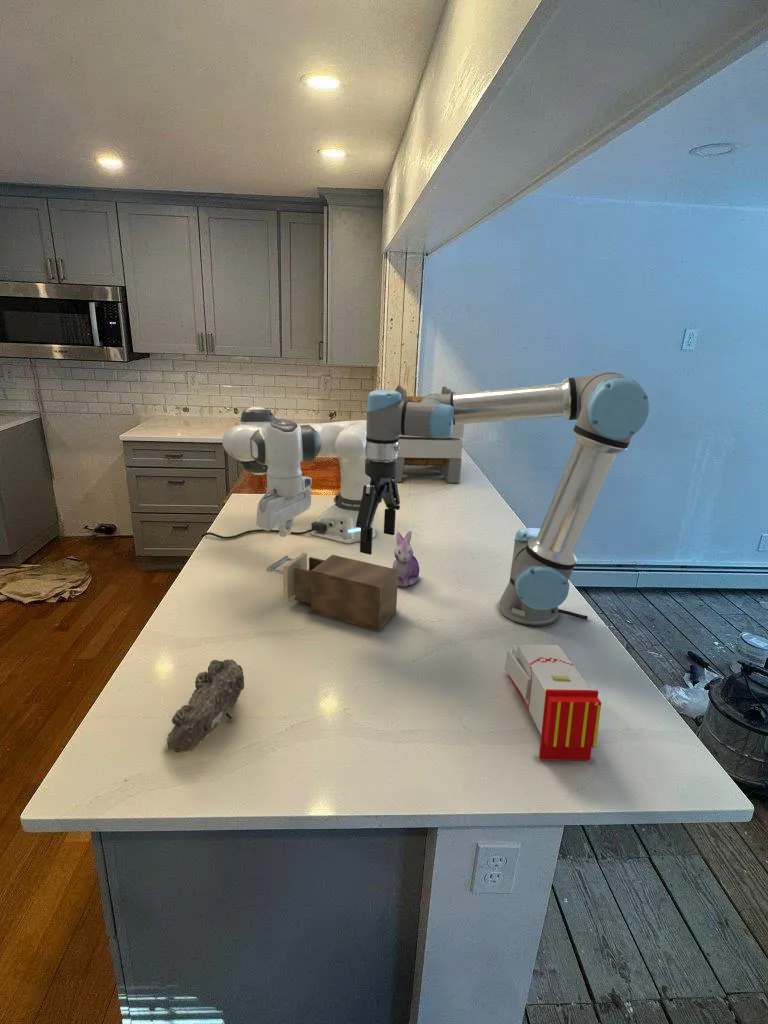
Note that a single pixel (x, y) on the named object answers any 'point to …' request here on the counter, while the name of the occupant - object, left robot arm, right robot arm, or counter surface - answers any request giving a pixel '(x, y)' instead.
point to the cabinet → (354, 591)
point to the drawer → (296, 576)
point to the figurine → (405, 561)
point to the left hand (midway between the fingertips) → (285, 535)
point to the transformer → (431, 448)
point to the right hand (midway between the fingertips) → (377, 543)
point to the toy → (556, 700)
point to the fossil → (206, 705)
